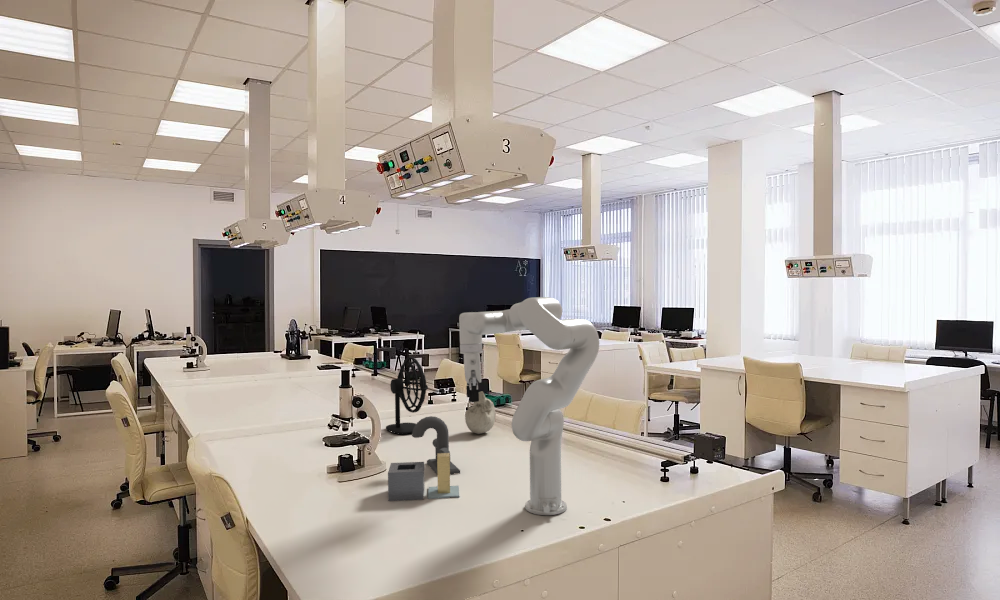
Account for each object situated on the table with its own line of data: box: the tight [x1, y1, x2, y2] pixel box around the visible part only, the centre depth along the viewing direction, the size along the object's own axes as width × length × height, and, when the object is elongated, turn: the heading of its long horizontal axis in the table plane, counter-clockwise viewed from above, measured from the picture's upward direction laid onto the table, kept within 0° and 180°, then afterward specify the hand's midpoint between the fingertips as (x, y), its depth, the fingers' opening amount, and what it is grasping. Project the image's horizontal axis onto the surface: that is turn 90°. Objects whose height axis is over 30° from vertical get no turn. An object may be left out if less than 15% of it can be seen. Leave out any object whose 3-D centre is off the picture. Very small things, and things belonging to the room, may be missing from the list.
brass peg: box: [437, 452, 451, 493], centre depth 197 cm, size 4×4×12 cm
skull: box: [464, 391, 496, 435], centre depth 280 cm, size 13×15×20 cm
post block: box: [387, 461, 425, 502], centre depth 196 cm, size 11×11×9 cm
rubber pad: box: [427, 485, 460, 500], centre depth 197 cm, size 10×10×1 cm
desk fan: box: [385, 356, 429, 435], centre depth 288 cm, size 27×18×35 cm, turn 32°
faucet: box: [411, 415, 461, 476], centre depth 223 cm, size 18×16×20 cm
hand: (472, 399), depth 202 cm, fingers open, 9 cm apart
